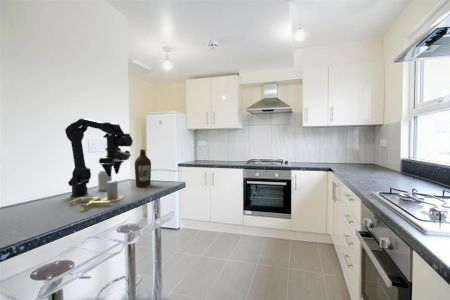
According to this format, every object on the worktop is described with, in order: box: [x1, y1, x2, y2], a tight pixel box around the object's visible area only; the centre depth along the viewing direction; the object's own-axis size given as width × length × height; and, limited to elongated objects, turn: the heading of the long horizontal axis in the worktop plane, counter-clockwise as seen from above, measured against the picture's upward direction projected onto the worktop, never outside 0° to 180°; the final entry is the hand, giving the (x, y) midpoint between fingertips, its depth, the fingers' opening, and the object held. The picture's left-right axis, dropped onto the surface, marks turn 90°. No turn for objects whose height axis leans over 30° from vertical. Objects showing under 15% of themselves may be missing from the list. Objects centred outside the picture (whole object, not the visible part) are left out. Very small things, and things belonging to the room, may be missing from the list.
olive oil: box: [134, 149, 152, 188], centre depth 151 cm, size 11×11×25 cm
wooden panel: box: [100, 195, 125, 202], centre depth 119 cm, size 9×9×1 cm
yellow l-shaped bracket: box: [79, 201, 111, 212], centre depth 103 cm, size 9×9×3 cm
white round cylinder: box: [106, 180, 119, 200], centre depth 119 cm, size 5×5×9 cm
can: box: [97, 170, 113, 192], centre depth 141 cm, size 8×8×12 cm
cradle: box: [69, 196, 101, 206], centre depth 111 cm, size 11×8×2 cm
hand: (113, 175), depth 120 cm, fingers open, 9 cm apart
